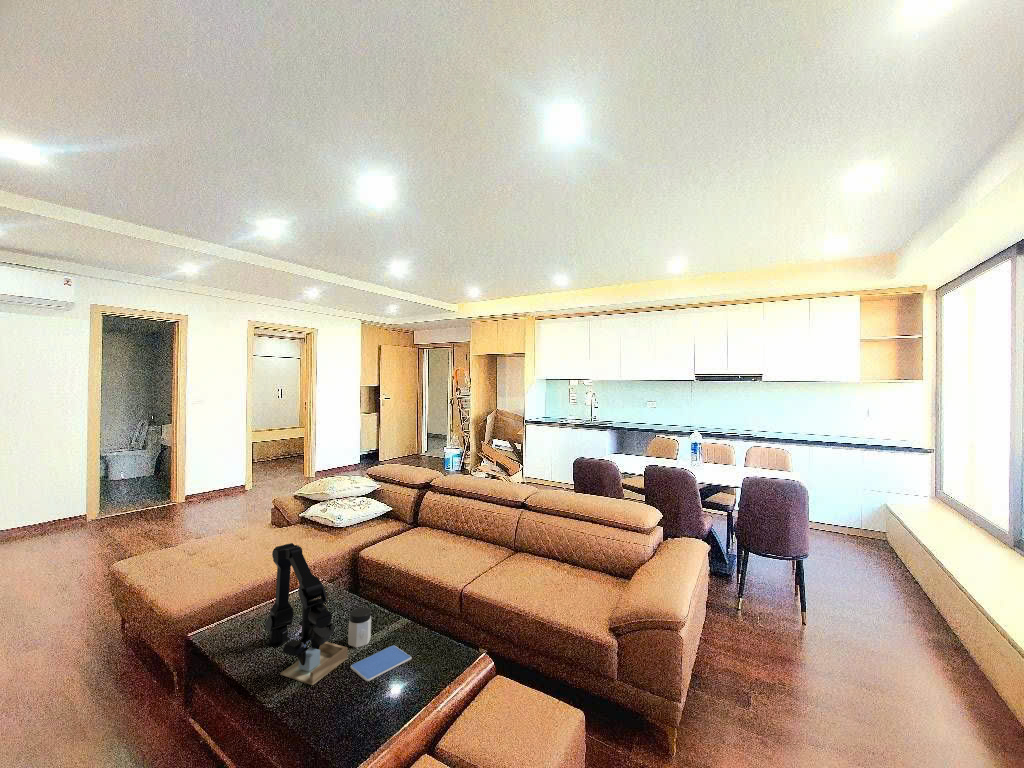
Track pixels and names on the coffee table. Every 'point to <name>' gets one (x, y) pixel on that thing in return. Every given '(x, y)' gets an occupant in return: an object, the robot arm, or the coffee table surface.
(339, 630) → the coffee table surface
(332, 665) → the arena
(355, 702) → the coffee table surface
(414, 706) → the coffee table surface
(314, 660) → the cube
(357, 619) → the jar
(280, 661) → the coffee table surface
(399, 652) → the tablet computer
